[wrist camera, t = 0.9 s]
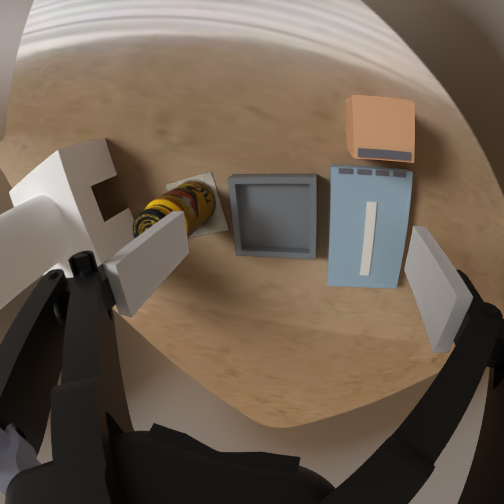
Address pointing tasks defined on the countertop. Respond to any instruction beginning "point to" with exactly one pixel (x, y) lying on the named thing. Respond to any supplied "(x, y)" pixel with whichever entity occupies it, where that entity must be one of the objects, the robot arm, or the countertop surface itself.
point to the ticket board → (367, 225)
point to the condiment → (186, 207)
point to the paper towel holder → (59, 218)
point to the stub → (380, 128)
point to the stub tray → (274, 214)
